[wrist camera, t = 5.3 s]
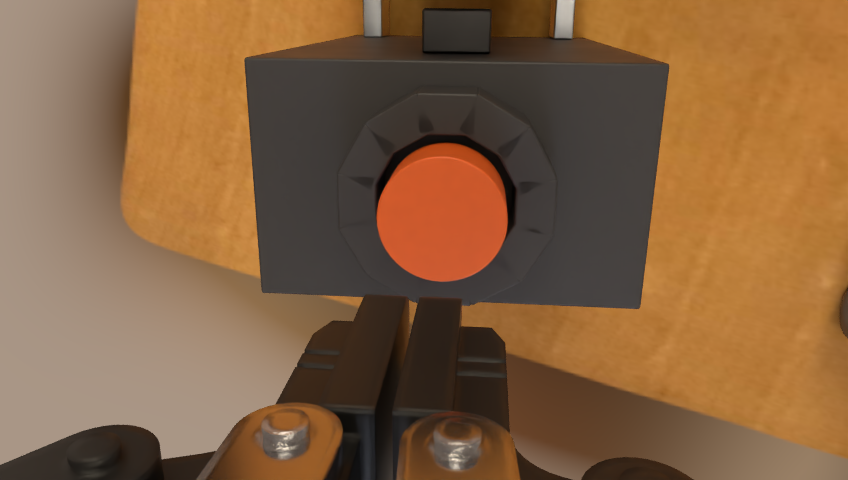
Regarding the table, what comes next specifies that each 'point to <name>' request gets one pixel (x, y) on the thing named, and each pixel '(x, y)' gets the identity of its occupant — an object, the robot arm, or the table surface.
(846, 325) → the toy race car
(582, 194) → the coffee maker
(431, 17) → the frame
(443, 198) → the button
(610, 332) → the table surface
